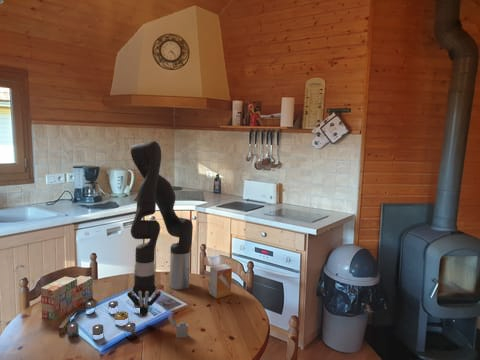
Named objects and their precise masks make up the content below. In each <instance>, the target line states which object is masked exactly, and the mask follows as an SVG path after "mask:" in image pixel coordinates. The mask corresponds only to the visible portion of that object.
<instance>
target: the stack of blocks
mask: <svg viewBox="0 0 480 360" xmlns="http://www.w3.org/2000/svg"><path fill="white" fill-rule="evenodd" d="M93 286H94V285H93V277H91V276H85V275H79V276H77V277H69V276H65V275H64V276H63V277H60V278H59V279H57V280H54V281H53V282H51V283H48V284H45V285H44V286H42V287H41V288H40V291H41V293H40V295H41V296H40V301H41V302H40V303H41V317H42V318H44V319H49V320H52V321H56V320H57V319H58V318H59V319H60V318H62V317H63V316H64V315H66V314H69V313H70V311H71V310H72V309H73V308H78V307H79V306H80V305H82V304H85V303H86V302H88V301H90V300H91V299H92V298H93V297H94V296H93V295H94V294H93V292H94V290H93V289H94V287H93Z"/></svg>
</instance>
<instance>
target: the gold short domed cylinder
mask: <svg viewBox="0 0 480 360" xmlns="http://www.w3.org/2000/svg"><path fill="white" fill-rule="evenodd" d="M127 318H128V319H129V312H127V311H118V312H117V313H116V314H114V321H115V320H125V319H127Z"/></svg>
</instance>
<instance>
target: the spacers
mask: <svg viewBox="0 0 480 360" xmlns="http://www.w3.org/2000/svg"><path fill="white" fill-rule="evenodd" d="M84 305H85V306H84V307H85V308H84V309H91V308H94V307H95V308H96V301H95V300H88V301H86V302H84ZM116 306H118V307H119V302H118V301H117V300H112V301H109V302H108V308H109V307H111V308H115V307H116ZM134 307H135V308H140V306H138V305H137V306H136V305H135V304H134V303H133V308H134ZM79 327H80V326H79V322H71V323H70V324H68V325H67V329H66V331H67V338H68V339H75V338H78V337H79ZM135 329H137V328H136V323H135V322H128V323H127V324H126V325H125V326H124V332H125V331H127V332H131V333H132V334H131V335H130V336H129V338H128V339H133V338H135V337H136V333H135V332H134V331H135ZM102 333H103V334H104V325H103V324H95V325H93V326H92V336H93V335H100V334H102Z"/></svg>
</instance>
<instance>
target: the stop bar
mask: <svg viewBox="0 0 480 360" xmlns="http://www.w3.org/2000/svg"><path fill="white" fill-rule="evenodd" d="M76 312H77V313H78V307H76V308H73V309H72V310H71V311H69V312H68V313H67V316H65V318H64V320H63V321H62V322H61V324H60V325H59V326H58V335H64V334H65V332H66V331H67V325H68V324H70V318H71V317H72V316H73V315H74V314H75V313H76Z"/></svg>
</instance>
